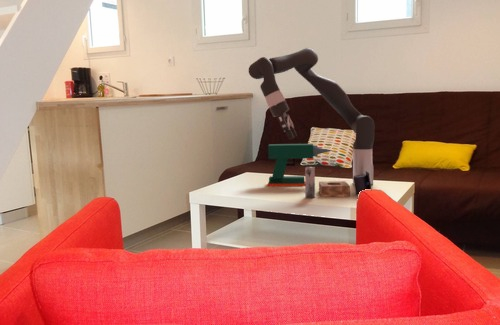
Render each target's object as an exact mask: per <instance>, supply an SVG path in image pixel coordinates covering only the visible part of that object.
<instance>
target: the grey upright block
mask: <svg viewBox="0 0 500 325" xmlns="http://www.w3.org/2000/svg"><path fill="white" fill-rule="evenodd" d="M315 168H316V167H315V166H306V167H305V168H304V169H305V170H304V175H305V176H304V181H305V186H304V187H305V188H304V189H305V190H304V192H305V198H306V199H315V198H316V197H315V196H316V191H315V190H316V188H315V187H316V186H315V185H316V182H315V181H316V174H315V172H316V169H315Z"/></svg>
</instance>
